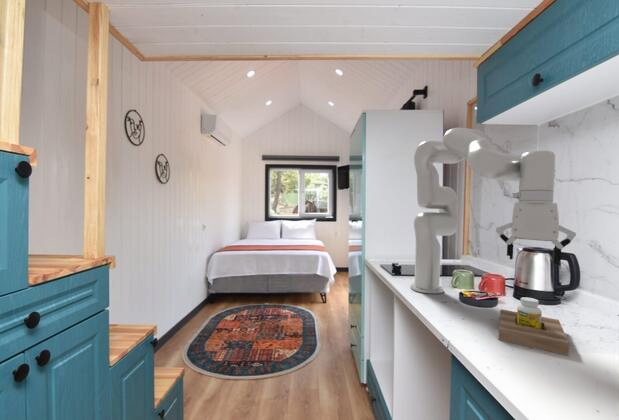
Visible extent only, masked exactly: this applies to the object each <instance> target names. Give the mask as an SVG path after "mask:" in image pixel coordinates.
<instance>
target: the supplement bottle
mask: <svg viewBox="0 0 619 420" xmlns="http://www.w3.org/2000/svg"><path fill="white" fill-rule="evenodd" d="M519 301H520V305H517V311H516V312H517V325H520V326H525V327H530V328H535V329H540V330H541V317H542V309H541V308H540V307H539V300H538V299H536V298H533V297H524V296H523V297H520V300H519Z"/></svg>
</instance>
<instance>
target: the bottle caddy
mask: <svg viewBox="0 0 619 420" xmlns="http://www.w3.org/2000/svg"><path fill="white" fill-rule="evenodd" d="M498 322H499V323H498V340H499V341H502V342H506V341H507V342H508V343H511V342H512V344H515V343H516V345H520V346H524V345H525V346H524V347H528V348H533V347H534V349H537V348H538V350H543V351H547V352H552V353H556V354H560V355H565V356H569V353H570V352H569V351H570V350H569V348H570V342H569V340H568V337H567V336H566V335H567V334H566V332H565V331H564V328H563V327H562V324H561V322H560V320H559V319H556V318H551V317H545V316H541V330H540V329H535V328H530V327H525V326H520V325H517V311H512V310H507V309H500V313H499V321H498Z"/></svg>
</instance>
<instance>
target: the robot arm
mask: <svg viewBox="0 0 619 420" xmlns="http://www.w3.org/2000/svg"><path fill="white" fill-rule="evenodd" d="M464 160H466V164H467V165H468V167H469V168H470V169H471V171H474V172H475V173H477V174H479V175H480V176H482V177H484V178H486V179H489V180H495V181H496V180H498V181H511V182H518V192H516V193H514V192H513V193H512V198H513V199H516V200H518V201H517V202H515V203H514V206H513V210H512V216H511V217H512V218H511V222H508V223H507V224H504V225H500V226H498V227H496V232H497V233H498V236H499V237H500V239H501V240H502V241H503V242H504V243H506V244H507V245H506V248H507V249H506V256H507V257H509V260H513V259H514V242H515V241H516V240H517V239H518V240H529V241H542V242H551V243H552V244H553V245H554V247H553V249H552V263H553V264H554V265H558V262H560V261H561V259H562V249H564V248H565V247H566V246H568V245H570V244H571V242H572V241H573V239H574V238H575V237H576V235H577V233H576V232H574V231H573V230H570V229H568V228H566V227H564V226H562V225H560V219H559V218H560V217H559V208H558V204H557V202H556V203H555V202H554V192H555V191H554V190H555V187H554V186H555V171H556V169H555V168H556V155H555V153H554V151H550V150H533V151H532V150H531V151H527V152H524V153H523V154H510V153H500V152H495V151H493V150H491V143H490V141H489V140H488V139H487V138H486V136H485V134H484V133H483V131H482V130H479V129H475V128H465V127H453V128H450V129H448V130H447V131H446V132H445V134H444V135H443V138H442V140H441V141H439V140H426V141H422V142H421V143H420V144H418V146H417V147H416V149H415V151H414V156H413V161H414V162H413V163H414V169H415V171H416V172H415V173H416V196H417V197H416V199H417V204H418V206H419V207H420V208H422V209H426V210H438V211H439V212H437V211H435V212H432V211H429V212H428V211H427V212H421V213H419V214H417V215H416V216H415V217H414V220H413V227H414V228H413V229H414V234H415V258H414V259H415V260H414V282H413V283H411V284H410V286H409V288H410V289H411V290H413V291H415V292H418V293H424V294H432V295H434V294H435V295H436V294H437V295H438V294H442V293H443V292H444V288H443V287H442V286H441V285H440V278H441V277H440V276H441V275H440V273H441V249H442V248H441V244H440V241H439V240H438V238H437V237H440V236H441V237H442V236H443V237H445V236H446V237H447V236H452V235H454V234H455V233H456V232H457V230H458V227H459V205H458V204H459V203H458V195H457V193H456V191H455V190H454V189H453V188H452V187H449V186H443V185H442V186H441V185H440V175H439V172H438V169H437V167H436V166H435V165H434V163H436V164H447V165H453V164H457V163H459V162H461V161H464ZM508 229H511V230H510V233H511V236H510V237H507V235H505V233H504V231H506V230H508ZM559 232H562V233H564V234H565V235H566V237H565V238H564V239H563V240H561V241H559V240H558V239H559V235H560V233H559Z"/></svg>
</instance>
